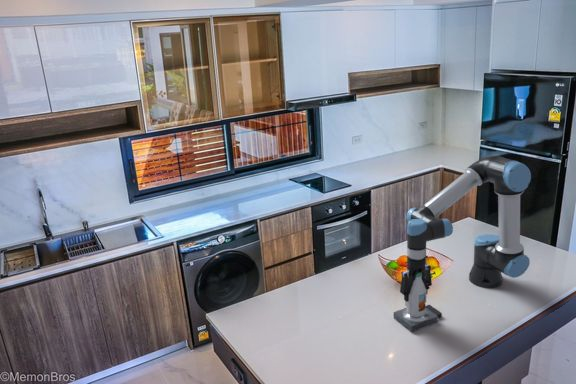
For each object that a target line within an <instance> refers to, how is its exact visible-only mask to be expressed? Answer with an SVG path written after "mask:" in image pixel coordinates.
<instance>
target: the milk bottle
mask: <svg viewBox="0 0 576 384" xmlns="http://www.w3.org/2000/svg"><path fill="white" fill-rule="evenodd" d="M411 277H412V276H411ZM421 277H422V273H421V272H418V274H417V275H416V279H415V280H414V282H413V285H412V288H411V291H410V293H409V294H411V308H410V309H409V308H408V307H406V308H407V313H408V314H409V315H410V316H413V317H421V316H423V315H424V314H425V306H426V303H425V286H424V283H423V281H422V278H421ZM412 278H413V277H412Z"/></svg>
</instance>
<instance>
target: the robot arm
mask: <svg viewBox="0 0 576 384" xmlns="http://www.w3.org/2000/svg"><path fill="white" fill-rule="evenodd" d="M464 170H465V171H464V173H462V174H461V175H459V177H457V178H456V179H455V180H453V181H452V182H451V183H449V185H447V186H446V187H444V188H443V189H442V190H441V191H439V192H438V193H437V194H436V195H435V196H433V197H432V198H431V199H430V200H428V201H427V202H426V203H424V204H423V205H421V206H420V207H419V208H418V207H411V208H410V209H409V210H408V211H407V212H406V216H405V218H406V221H407V226H406V227H407V229H406V235H407V236H406V237H407V238H406V239H407V240H406V242H407V245H406V247H407V249H406V251H407V252H406V264H407V269H406V270H405V271H401V273H400V274H401V280H400V289H399V292H400V293H401V294H402V295H403V300H404V302H405V303H404V304H405V308H407V307H408V308H409V309H410V308H411V294H409V293H410V291H411V288H412V285H413V282H414V280H415V279H416V275H417V274H418V272H421V273H422V277H421V278H422V281H423V283H424V286H425V304H426V303H427V295H428V293H429V292H428V290H430V289H431V288H430V287H431V286H432V285H433V282H432V273H431V269H432V266H431V265H430V264H428V263H427V257H426V256H427V242H432V241H435V240H438V239H439V240H440V239H444V238H447V237H450V236H451V235H452V234H453V231H454V227H453V223H452V222H451V220H450V219H448V218H440V219H438V218H437V217H439V216H440V215H441V214H442V213H444V212H445V211H446V210H448V209H449V208H450V207H451V206H453V205H454V204H455V203H457V202H458V201H459V200H460V199H461V198H463V197H464V196H465V195H467V193H469V192H471V191H472V190H473V189H474V188H476V186H482V185H483V184H484V183H487V182H490V183H493V189H494V191H493V192H494V193H495V194H496V195H498V196H497V204H498V205H497V207H498V235H496V234H482V235H478V236H477V237H475V240H474V244H473V246H474V250H473V264H472V267H471V269H470V271H469V274H468V280H469V281H470V283H471V284H473V285H475V286H477V287H481V288H486V289H487V288H489V289H490V288H491V289H492V288H497V287H500V286H502V284H503V275H502V274H504V275H505V276H507V277H509V278H514V279H515V278H519V277H521V276H522V275H524V274H525V272H526V271H527V270H528V269H529V266H530V264H531V263H530V262H531V261H530V260H531V259H530V258H529V257H528V255H526V254H524V253H525V251H524V247H525V246H524V245H523V244H522V243H521V195H522V194H523V193H524V192H525V190H526V189H527V188H528V187H529V184H530V183H531V180H532V174H531V171H530V169H529V167H528V166H527V165H526V164H524V163H522V162H519V161H518V160H513V159H509V158H507V157H506V158H505V157H502V156H499V155H489V156H488V155H487V156H486V157H485V156H484V157H483V158H481V159H478V160H477V161H475V162H473V163H472V164H470V165H469V166H468V167H466V168H465V169H464ZM411 276H412V277H413V278H412V277H411Z"/></svg>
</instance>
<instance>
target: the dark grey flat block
mask: <svg viewBox="0 0 576 384" xmlns="http://www.w3.org/2000/svg"><path fill="white" fill-rule="evenodd" d="M442 315H443V313H442V312H441V311H440V310H438V309H437V308H435V307H434V306H432V305H431V304H427V305H425V314H424V315H423V316H421V317H413V316H410V315H409V314H408V313H407V307H404V308H401V309H399V310H396V311H394V312H393V319H394V320H395V321H397V322H398V324H400V325H401V326H403V327H404V328H405V329H406V330H408V331H409V332H410V333H413V332H416V331H419V330H421V329H424V328H426V327H429V326H431V325H434V324H437V323H438V322H439V319H440V318H442V317H443V316H442Z"/></svg>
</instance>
